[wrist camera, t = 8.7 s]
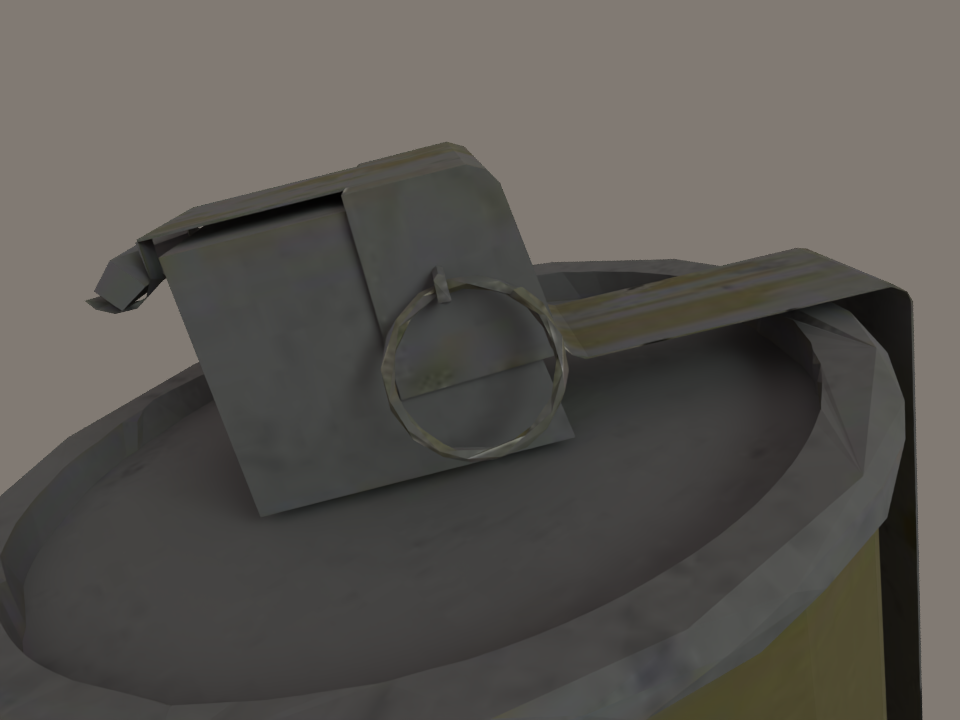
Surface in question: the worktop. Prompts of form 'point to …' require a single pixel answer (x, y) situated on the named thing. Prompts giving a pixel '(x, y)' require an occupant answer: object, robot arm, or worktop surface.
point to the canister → (475, 480)
